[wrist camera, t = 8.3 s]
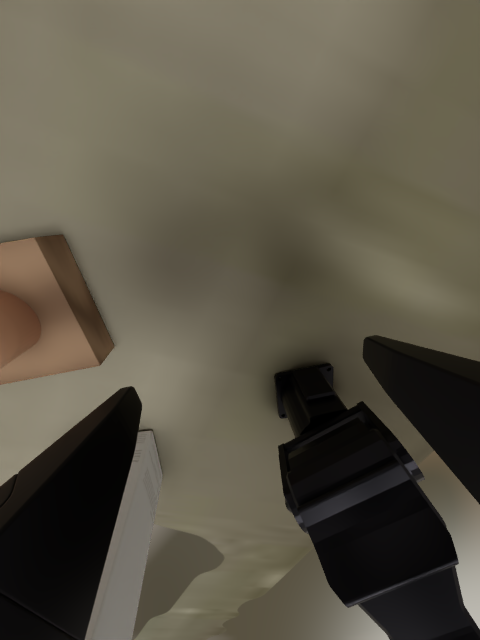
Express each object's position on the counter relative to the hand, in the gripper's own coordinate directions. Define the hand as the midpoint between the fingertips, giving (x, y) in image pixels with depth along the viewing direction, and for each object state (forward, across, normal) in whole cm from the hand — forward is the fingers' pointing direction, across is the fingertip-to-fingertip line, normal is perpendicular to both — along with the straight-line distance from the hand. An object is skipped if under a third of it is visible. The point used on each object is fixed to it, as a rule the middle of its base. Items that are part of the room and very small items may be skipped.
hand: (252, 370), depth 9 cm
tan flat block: (+12, +17, -1) cm, 21 cm away
